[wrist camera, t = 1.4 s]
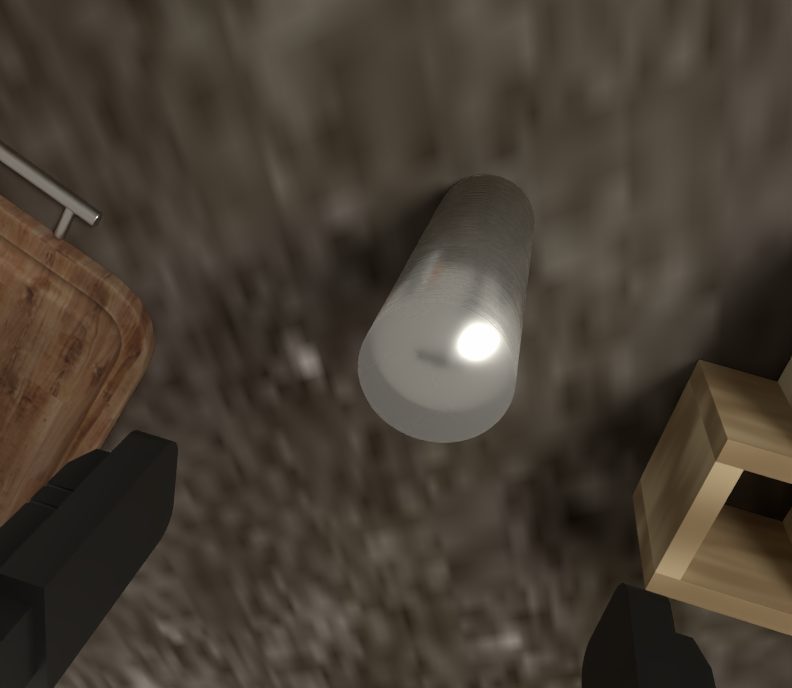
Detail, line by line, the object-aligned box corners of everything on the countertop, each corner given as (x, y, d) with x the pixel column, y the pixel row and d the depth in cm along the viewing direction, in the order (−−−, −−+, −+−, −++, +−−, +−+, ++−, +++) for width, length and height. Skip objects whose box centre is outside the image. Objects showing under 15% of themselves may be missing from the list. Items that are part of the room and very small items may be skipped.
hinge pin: (449, 163, 28) (374, 282, 17) (547, 189, 28) (537, 329, 17) (426, 254, 30) (345, 416, 19) (517, 280, 30) (490, 460, 19)
